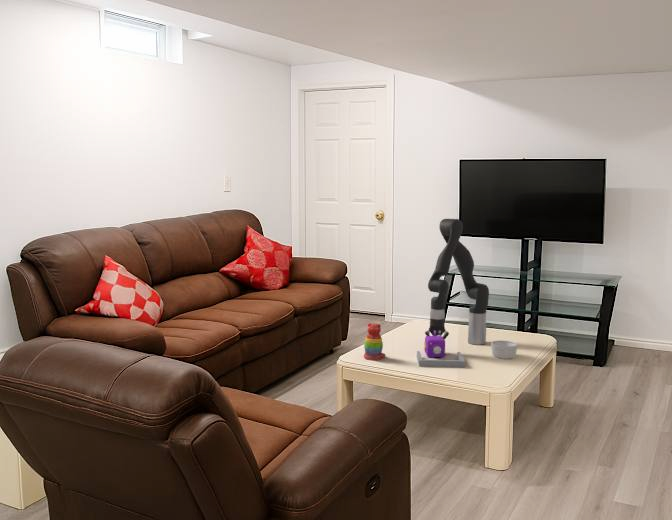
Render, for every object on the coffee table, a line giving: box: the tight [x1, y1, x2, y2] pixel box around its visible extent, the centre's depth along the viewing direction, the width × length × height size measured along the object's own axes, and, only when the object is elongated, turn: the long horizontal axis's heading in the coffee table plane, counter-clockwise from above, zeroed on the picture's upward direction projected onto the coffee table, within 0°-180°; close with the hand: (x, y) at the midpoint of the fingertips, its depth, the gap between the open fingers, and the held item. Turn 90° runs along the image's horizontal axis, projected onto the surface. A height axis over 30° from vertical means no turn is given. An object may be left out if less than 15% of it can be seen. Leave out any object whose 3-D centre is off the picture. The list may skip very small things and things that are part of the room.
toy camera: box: [423, 335, 446, 358], centre depth 358 cm, size 11×14×10 cm
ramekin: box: [490, 339, 519, 360], centre depth 360 cm, size 13×13×7 cm
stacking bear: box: [363, 322, 387, 361], centre depth 354 cm, size 11×10×18 cm
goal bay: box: [416, 350, 466, 368], centre depth 348 cm, size 22×16×3 cm
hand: (436, 349), depth 366 cm, fingers closed
